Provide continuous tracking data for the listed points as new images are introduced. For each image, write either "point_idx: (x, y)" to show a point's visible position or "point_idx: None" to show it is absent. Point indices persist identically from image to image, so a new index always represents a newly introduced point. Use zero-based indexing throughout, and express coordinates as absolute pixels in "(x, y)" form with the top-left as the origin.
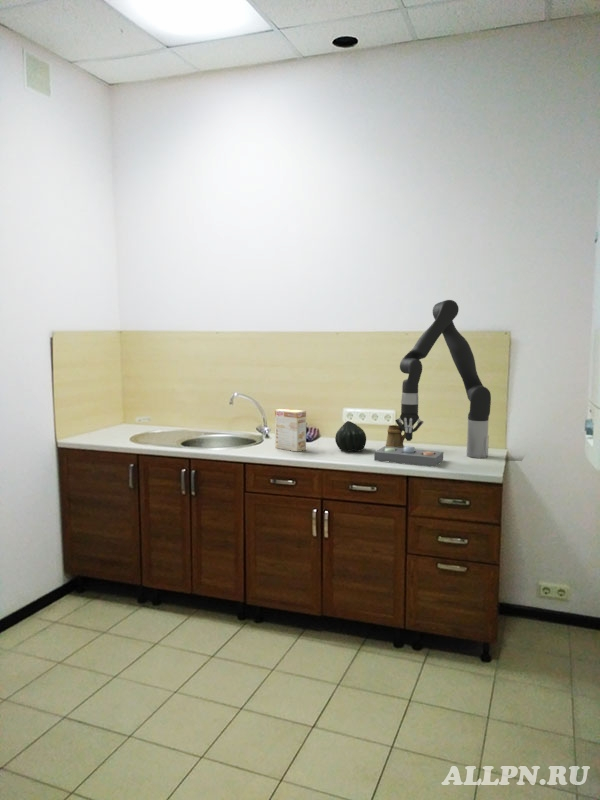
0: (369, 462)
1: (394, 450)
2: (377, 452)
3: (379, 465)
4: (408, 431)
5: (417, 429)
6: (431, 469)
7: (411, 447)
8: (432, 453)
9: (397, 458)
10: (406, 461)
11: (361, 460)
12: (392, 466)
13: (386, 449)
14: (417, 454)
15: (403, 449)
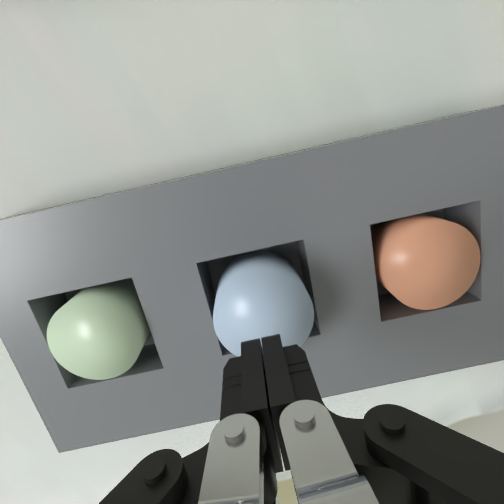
0: (101, 452)
1: (142, 335)
2: (83, 445)
3: None
4: (273, 467)
5: (440, 428)
6: (468, 383)
7: (282, 303)
8: (473, 275)
9: None
10: None
11: (31, 442)
12: None
13: (87, 373)
14: (361, 340)
15: (171, 245)
